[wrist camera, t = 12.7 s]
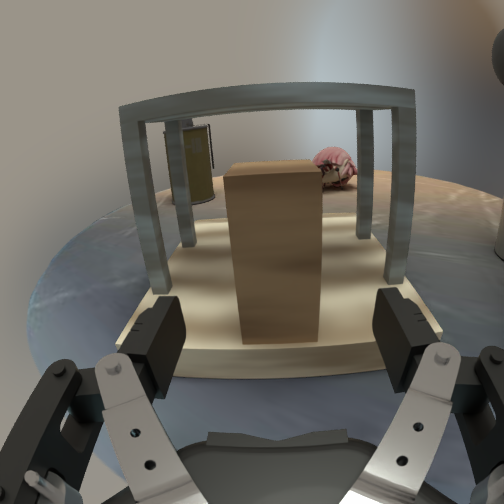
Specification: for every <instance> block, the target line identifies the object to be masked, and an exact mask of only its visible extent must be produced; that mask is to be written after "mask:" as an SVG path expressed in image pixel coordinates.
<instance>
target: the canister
mask: <svg viewBox="0 0 504 504" xmlns="http://www.w3.org/2000/svg"><path fill="white" fill-rule="evenodd" d="M181 122H182V131H183V141H184V150H185V158H186V167H187V175H188V182H189V190H190V197H191V205H195V204H200V203H204V202H208V201H210V200H212V199H213V198H214V197H215V194H214V191H213V182H212V173H211V164H210V154H209V144H208V134H207V125H204V126H196V127H193V126H194V125H193V122H192V118H189V119H183V120H181ZM208 126H209V137H210V147H211V156H212V166H213V169H214V161H213V152H212V142H211V132H210V125H209V124H208ZM163 134H164V138H165V146H166V154H167V162H168V170H169V177H170V184H171V191H172V198H173V201H172V203H173V204H174V205H175V200H174V193H173V186H172V179H171V172H170V164H169V156H168V148H167V140H166V131H164V132H163Z"/></svg>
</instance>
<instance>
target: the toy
mask: <svg viewBox="0 0 504 504" xmlns="http://www.w3.org/2000/svg"><path fill="white" fill-rule="evenodd" d="M312 162H313V163H314V164H315V165H316V166H317V167H318V168H319V169H320V170H321V171H322V184H323V183H324V186H325V184H326V183H330V182H331V183H332V184H333V185H334V186H335V187H339V186H340V185H341V188H342V190H343V187H342V185H343V184H346V183H347V182H348V181H349V180H350V179H351V177H352V176H353V175H357V169H356V168H355V167H356V166H355V164H354V162H353V161H352V160H351V157H350V156H349V154H348V153H347V152H346V151H345V150H343V149H341V148H338V147H328V148H325V149H323V150H321V151H320V152H319V153H318V154H317V155H316V156H315V157H314V159H313V161H312ZM322 189H323V186H322Z"/></svg>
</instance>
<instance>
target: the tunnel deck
mask: <svg viewBox="0 0 504 504" xmlns="http://www.w3.org/2000/svg"><path fill="white" fill-rule="evenodd" d="M292 109H345V110H356V122H357V158H358V159H357V166H358V167H357V215H356V214H355V213H324V214H322V270H321V296H320V315H319V331H318V342H307V343H288V344H257V345H243V344H242V336H241V328H240V320H239V312H238V304H237V296H236V288H235V280H234V271H233V263H232V254H231V245H230V236H229V227H228V218H221V219H206V220H196V221H195V222H194V219H193V212H192V205H191V197H190V190H189V182H188V175H187V167H186V158H185V150H184V141H183V131H182V122H181V120H183V119H189V118H196V117H204V116H212V115H220V114H230V113H241V112H253V111H269V110H292ZM383 109H391V111H392V184H391V203H390V218H389V230H388V240H387V250H386V251H385V249H384V248H383V247H382V245H381V244H380V243H379V242H378V240H377V239H376V238H375V237H374V236H373V234H372V233H371V225H372V208H373V180H374V137H373V110H383ZM119 116H120V125H121V134H122V142H123V150H124V157H125V164H126V169H127V177H128V183H129V188H130V194H131V200H132V205H133V210H134V216H135V221H136V225H137V230H138V235H139V239H140V244H141V248H142V253H143V257H144V261H145V265H146V269H147V273H148V277H149V281H150V285H151V287H150V289H149V290H148V292H147V293H146V295H145V297H144V298H143V300H142V301H141V303H140V304H139V306H138V308H137V309H136V311H135V312H134V314H133V316H132V317H131V319H130V320H129V322H128V324H127V325H126V327H125V328H124V330H123V332H122V333H121V335H120V337H119V338H118V340H117V342H116V343H115V345H116V347H117V349H118V350H119V348H120V346H121V344H122V343H123V341H124V339H125V338H126V336H127V334H128V333H129V331H130V329H131V328H132V326H133V325H134V323H135V321H136V319H137V318H138V316H139V314H141V313H142V312H143V311H144V310H146V309H147V308H152V307H153V305H154V304H155V302H156V300H157V298H158V297H159V296H177V297H178V298H179V301H180V305H181V309H182V313H183V317H184V321H185V325H186V340H185V343H184V346H183V349H182V351H181V354H180V357H179V360H178V363H177V365H176V368H175V371H174V374H173V376H178V377H195V378H222V379H270V378H296V377H313V376H326V375H338V374H348V373H357V372H365V371H373V370H380V369H386V367H385V364H384V361H383V358H382V356H381V353H380V350H379V348H378V345H377V342H376V340H375V337H374V335H373V330H372V319H373V313H374V307H375V301H376V294H377V291H378V289H379V288H390V287H397V288H398V290H399V291H400V293H401V294H402V296H403V298H409V299H410V300H412V301H413V302H414V303H416V304H417V305H418V306H419V308H420V309H421V311H422V313H423V314H424V316H425V317H426V319H427V321H428V322H429V324H430V325H431V327H432V329H433V330H434V332H435V333H436V335H437V337H438V338H439V340H440V338H441V336H442V333H443V330H442V329H441V327H440V326H439V324H438V323H437V321H436V320H435V318H434V317H433V315H432V314H431V312H430V311H429V309H428V308H427V306H426V305H425V304H424V302H423V301H422V299H421V298H420V296H419V295H418V294H417V292H416V291H415V289H414V288H413V287H412V285H411V284H410V282H409V281H408V280H407V278H406V277H405V270H406V263H407V257H408V250H409V243H410V235H411V226H412V216H413V206H414V192H415V174H416V106H415V90H414V89H413V90H412V89H406V88H398V87H390V86H380V85H369V84H354V83H331V82H293V83H291V82H290V83H267V84H252V85H240V86H230V87H221V88H213V89H205V90H199V91H192V92H186V93H180V94H175V95H169V96H164V97H159V98H154V99H149V100H145V101H140V102H136V103H132V104H128V105H124V106H120V107H119ZM153 122H165V130H166V140H167V148H168V156H169V164H170V172H171V179H172V186H173V193H174V200H175V206H176V213H177V219H178V225H179V231H180V237H181V242H180V244H179V245H178V247H177V248H176V250H175V251H174V253H173V254H172V256H171V257H170V259H169V260H168V262H167V257H166V253H165V248H164V243H163V238H162V232H161V227H160V222H159V216H158V210H157V205H156V199H155V192H154V186H153V180H152V174H151V166H150V159H149V151H148V143H147V135H146V126H145V123H153Z"/></svg>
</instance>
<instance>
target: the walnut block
mask: <svg viewBox="0 0 504 504" xmlns="http://www.w3.org/2000/svg"><path fill="white" fill-rule="evenodd" d="M223 180H224V190H225V200H226V209H227V218H228V227H229V236H230V245H231V254H232V263H233V271H234V280H235V288H236V296H237V304H238V312H239V320H240V328H241V336H242V344H243V345H257V344H288V343H307V342H318V331H319V315H320V296H321V270H322V171H321V170H320V169H319V168H318V167H317V166H316V165H315V164H314V163H313V162H312V161H311V160H282V161H262V162H247V163H234V164H233V166H232V167H231V168H230V169H229V171H228V172H227V173H226V174H225V175H224V176H223Z"/></svg>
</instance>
